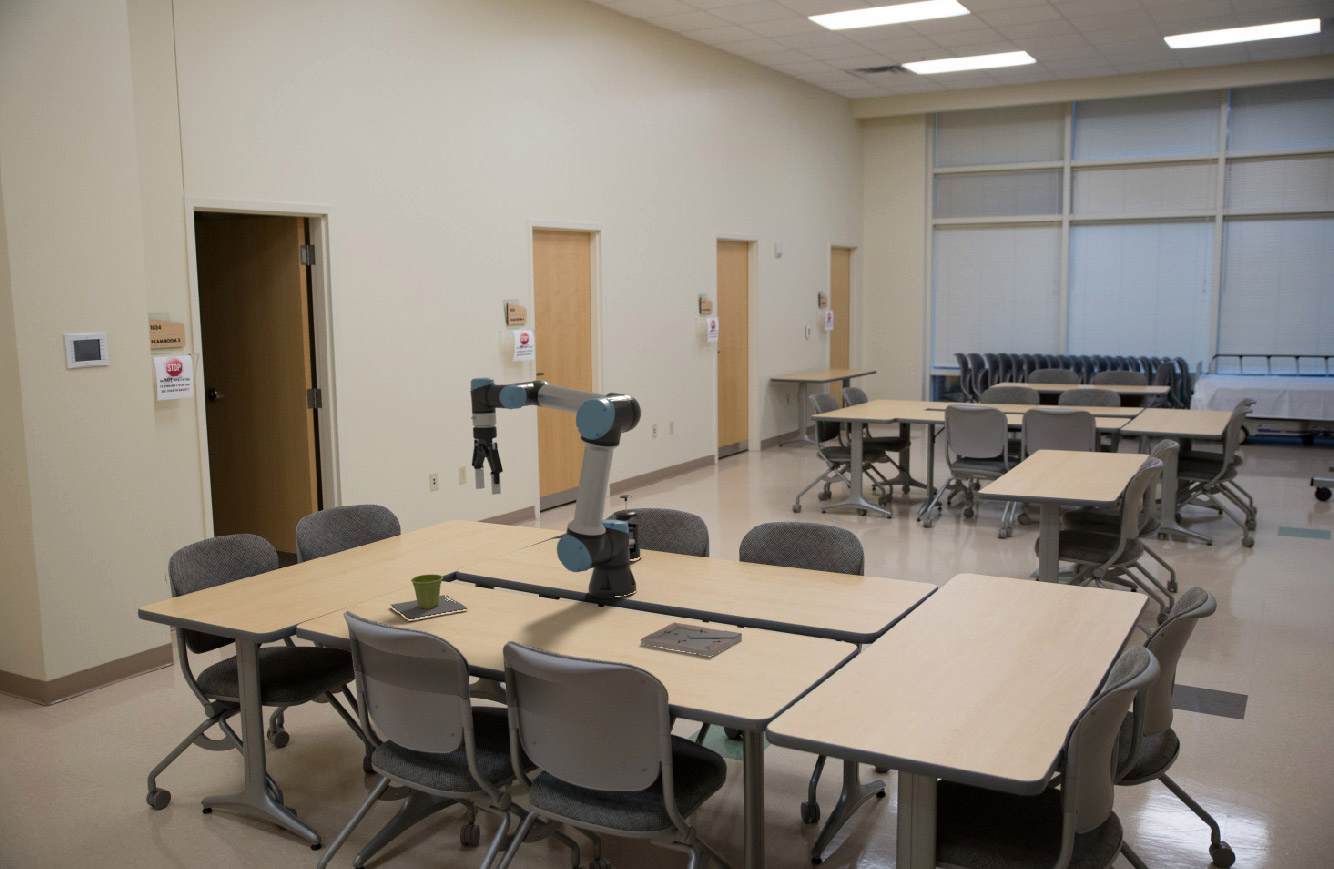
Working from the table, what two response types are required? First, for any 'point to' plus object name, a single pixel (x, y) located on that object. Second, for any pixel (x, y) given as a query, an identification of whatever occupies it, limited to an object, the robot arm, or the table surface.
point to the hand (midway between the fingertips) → (488, 491)
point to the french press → (626, 516)
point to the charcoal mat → (414, 611)
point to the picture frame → (692, 639)
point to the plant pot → (427, 590)
